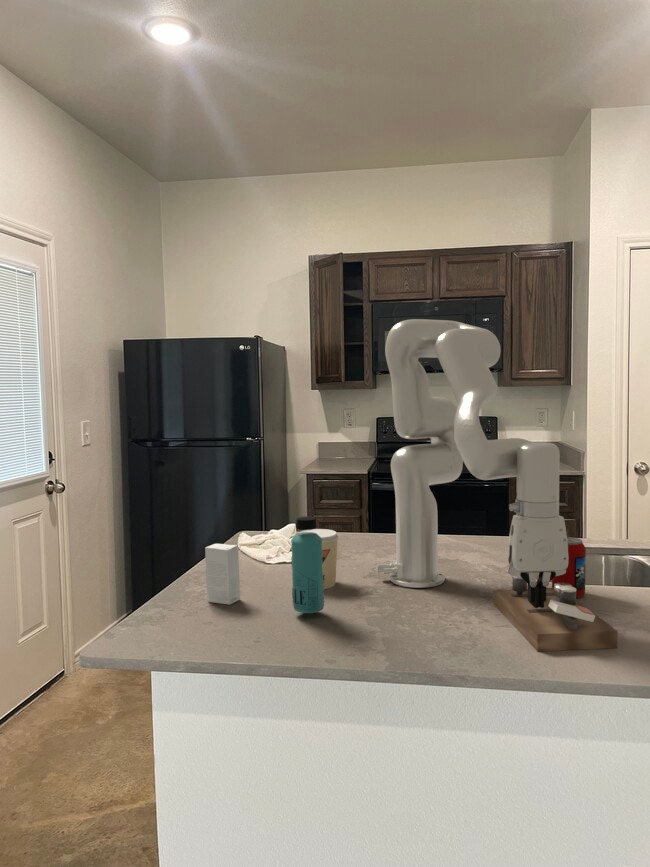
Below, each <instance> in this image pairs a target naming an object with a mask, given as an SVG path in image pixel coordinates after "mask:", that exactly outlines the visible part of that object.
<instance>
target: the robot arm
mask: <svg viewBox="0 0 650 867" xmlns="http://www.w3.org/2000/svg"><path fill="white" fill-rule="evenodd" d="M384 347H385V349H384V350H385V351H384V352H385V359H386V363H387V364H386V365H387V368H388V372H389V376H390V379H391V380H390V382H391V394H392V395H391V396H392V409H393V421H394V422H393V423H394V427H395V431H396V434H397V436H399V437H400V438H403V439H407V440H419V439H420V440H421V439H430V443H423V444H412V445H411V444H410V445H406V446H403V447H401V448H399V449H398V450H396V451H395V452H394V453H393V455H392V458H391V460H390V472H391V477H392V482H393V488H394V495H395V496H394V497H395V533H396V534H395V540H396V542H395V543H396V545H395V546H396V547H395V548H396V554H395V555H396V558H393V561H390V562H389V563H376V565H375V566H376V567H375V568H376V573H382V574H383V575H387V574H388V575H389V574H390V575H389V580H390V581H391V582H392V583H393V584H395V585H397V586H400V587H405V588H411V589H412V588H414V589H415V588H416V589H421V588H422V589H424V588H425V589H426V588H433V587H438V586H441V585H442V584H443V583H444V582H445V574H444V573H443V572H441V571H439V569H438V568H439V566H438V565H439V555H438V554H439V553H438V552H439V551H438V550H439V548H438V542H439V540H438V538H439V537H438V535H439V534H438V532H439V531H438V529H439V528H438V526H439V525H438V503H437V501H436V498H435V496H434V494H433V492H432V491H431V489H430V486H433V485H439V484H441V485H442V484H449V483H452V482H454V481H455V480H457V479H459V477H460V476H461V474H462V472H463V468H464V467H463V466H464V465H465V467H466V468H467V470H468V471H469V473H470V474H472V476H473V477H475V478H476V479H478V480H482V481H489V480H490V481H492V480H497V479H506V478H507V479H508V478H516V498H515V502H513V503H509V504H508V509H509V511H510V512H514V513H516V514H514V515H512V520H511V524H510V530H509V538H508V549H507V559H508V560H507V561H508V564H509V566H508V568H507V573H508V575H510V576H511V577H512V576H515V577H520V578H522V579H523V580H525V581H526V582H527V589H528V592H527V598H528V601H529V602H530V604H531V605H532V606H533V607H535V608H538V607H540V608H544V602H546V588H548V586H549V585H550V582H552V579H553V578H554V577H555V576H559V575H563V574H565V573H566V569H567V567H568V543H567V537H568V534H567V529H566V522H565V518H564V516H562V515H560V466H561V464H560V461H561V460H560V458H561V457H560V456H561V455H560V454H561V453H560V449H559V447H558V446H557V445H556V444H554V443H552V442H545V441H541V442H540V441H530V440H527V439H525V438H519V437H518V438H517V437H516V438H515V437H514V438H512V437H511V438H497V439H488V438H487V437H486V435H485V434H486V433H485V432H484V431H483V427H482V425H481V421H480V409H481V407H484V406H485V405H487V404H488V403H489V402H491V401H492V400H493V399H495V397H496V395H497V393H498V385H497V384H498V383H497V382H496V380H495V378H494V376H493V374H492V372H491V370H490V368H491V367H493V366H494V365H496V364H497V363H498V362H499V359H500V357H501V351H502V350H501V344H500V341H499V339H498V337H497V336H496V334H494V333H493V332H492V331H490V330H489V329H487V328H483V327H479V326H475V325H471V324H467V323H464V322H461V321H460V322H459V321H457V320H455V321H454V320H447V319H446V320H445V319H427V318H426V319H424V318H422V319H421V318H420V319H419V318H416V319H415V318H411V319H406V320H405V319H404V320H401V321H399V322H397V323H396V324H395V325H393V326H392V327H391V329H390V330H389V332H388V335H387V337H386V341H385V346H384ZM421 358H430V359H432V358H435V359H438V361H439V364H440V366H441V369H442V370H443V371H442V372H444V375H445V377H446V379H447V381H448V384H449V387H450V388H451V391H452V393H453V395H454V397H455V399H456V401H457V406H456V405H455V403H454V402H453V401H452V400H451V399H449V398H448V397H443V396H431V394H430V383H429V382H430V381H429V376H428V374H427V372H426V370H425V368H424V366H423V365H422V364H421V362H420V361H419V359H421ZM463 464H464V465H463ZM536 573H537V578H536Z"/></svg>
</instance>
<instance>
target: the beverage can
mask: <svg viewBox="0 0 650 867" xmlns="http://www.w3.org/2000/svg"><path fill="white" fill-rule="evenodd" d="M567 543H568V567H567V569H566V573H565V574H563V575H559V576H555V577H554V578H553V579H552V580H551V588H554V584H555V583H568V584H571V585H572V587H574V588H576V599H578V598H579V599H580V597H582V596H584V595H585V594H586V571H587V570H586V567H587V565H586V563H587V560H586V557H587V555H586V554H587V553H586V552H587V551H586V550H587V549H586V546H585V545H584V543H583V540H582V539H581V538H579V537H574V536H573V537H572V536H567Z"/></svg>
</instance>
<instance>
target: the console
mask: <svg viewBox="0 0 650 867" xmlns="http://www.w3.org/2000/svg"><path fill="white" fill-rule="evenodd" d="M527 592H528V588H527V591H525V592H523V594H522V595H519V594H517V591H514V590H513V589H512V588H511V589H509V588H508V589H494V590H493V605H494V606H495V607H496V609H498V610H499V611H500V612H501V614H502V615H503V616H504V617H505V618H506V619H507V620H508V622H510V623H511V625H513V627H514V628H515V629H516V630H517V631H518V632H519V633H520V634H521V635H522V636H523V637H524V639H526V640H527V642H528V643H529V644H530V645H531V646H532V647H533V649H534V650H536V652H553V651H555V652H556V651H573V650H574V651H576V650H597V649H600V650H601V649H602V650H603V649H617V648H618V630H617V629H616V628H614V626H612V625H610V624H609V623H608V622H606V621H605V620H604V619H602V618H601V617H600V616H598V615H597V614H596V613H594V612H593V611H592V610H590V609H589V608H588V607H586V606H585V605H584V604H583V603H581V602H580V601H579V600H578V599H576V605H577V606H581V607H584V608H587V609H588V610H590V611H591V612H592V613H594V614H595V618H594V621H593V622H591V621H587V620H583V619H579V618H575V617H572V616H568V615H564V614H560V613H556V612H555V611H554V610H552V609H551V608H550V607H549V602H550V600H554V601H557V602H560V597H557V596H555V595H554V588H552V587H546V602H544V608H540V607H538V608H535V607H533V606H532V605H531V604H530V602H529V601H528V598H527ZM576 605H575V606H576Z"/></svg>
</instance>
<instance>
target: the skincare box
mask: <svg viewBox="0 0 650 867" xmlns="http://www.w3.org/2000/svg"><path fill="white" fill-rule="evenodd" d="M204 551H205V552H204V553H205V554H204V557H205V575H206V579H205V580H206V599H207V600H206V602H207V603H212V604H213V603H215V604H222V605H229V606H231V605H233V604H234V603H235V602H237V601H240V599H241V588H240V587H241V586H240V585H241V584H240V583H241V582H240V563H239V562H240V560H239V558H240V556H239V545H238V544H237V545H236V544H224V543H213V544H211V545H208V546H206V547H204Z"/></svg>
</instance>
